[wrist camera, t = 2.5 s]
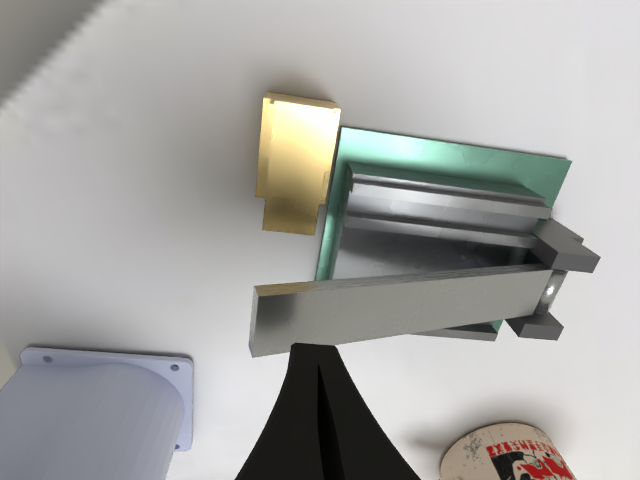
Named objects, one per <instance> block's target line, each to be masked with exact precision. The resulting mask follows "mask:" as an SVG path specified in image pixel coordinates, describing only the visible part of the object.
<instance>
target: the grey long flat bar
mask: <svg viewBox="0 0 640 480" xmlns="http://www.w3.org/2000/svg"><path fill="white" fill-rule="evenodd" d="M567 273H568V270H560V269H551V268H550V267H549V266H547V265H546V264H545V263H544V264H543V263H536V264H524V265H511V266H499V267H486V268H474V269H461V270H448V271H436V272H423V273H411V274H398V275H386V276H373V277H361V278H348V279H335V280H323V281H310V282H298V283H285V284H273V285H260V286H254V292H253V303H252V314H251V325H250V336H249V349H250V352H251V355H252V358H254V357H260V356H267V355H273V354H280V353H286V352H290V350H291V345H292V344H294V343H308V344H321V345H338V344H345V343H352V342H358V341H365V340H371V339H378V338H384V337H391V336H397V335H404V334H410V333H417V332H423V331H430V330H436V329H443V328H449V327H456V326H462V325H469V324H476V323H482V322H489V321H495V320H502V319H508V318H515V317H521V316H528V315H532V314H533V313H536V314H539V315H547V313H548V311H549V309H550V307H551V305H552V303H553V301H554V299H555V297H556V295H557V293H558V291H559V289H560V287H561V285H562V283H563V281H564V279H565V277H566V275H567Z"/></svg>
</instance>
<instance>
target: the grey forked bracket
mask: <svg viewBox="0 0 640 480" xmlns="http://www.w3.org/2000/svg"><path fill="white" fill-rule="evenodd" d="M532 234H533V235H534V236H536V237H537V238H538V239H539V241H538V243H537V245H536V248H535V249H533V248H527V249H528V252H527V254H526V256H525V259H524V261H523V263H522V265H524V264H536V263H543V264H544V263H545V264H546V265H547V266H549V267H550V268H551V269H560V270H568V271H578V272H588V273H593V271H594V269H595V267H596V265H597V263H598V261H599V260H600V258H601V257H600V256H598V255H597V254H595V253H594V252H592V251H591V250H589V249H588V248H586V247H585V246H583V245H582V242H583V240H584V239H583V238H582V237H580V236H579V235H577V234H576V233H574V232H573V231H571V230H569V229H568V228H566V227H565V226H563V225H562V224H560V223H558V222H557V221H555V220H554V219H547V220H546V221H543V220H538V221H537V223H536V225H535V228H534V230H533V232H532ZM505 320H506V322H507V323H508V324H509V326H510V327H511V328H512V329H513V331H514V332H515V333H516V334H517V336H518V337H522V338H534V339H546V340H558V338H559V336H560V334H561V332H562V330H563V328H564V327H563V326H562V325H561V324H560V323H559V322H558V321H557V320H556V319H555V318H554V317H553V316H552V315H551V314H550V313H549V312H548V313H547V315H539V314H536V313H533V314H532V315H528V316H521V317H515V318H508V319H505Z"/></svg>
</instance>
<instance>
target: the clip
mask: <svg viewBox="0 0 640 480" xmlns="http://www.w3.org/2000/svg"><path fill="white" fill-rule="evenodd" d="M340 111H341V109H340V108H339V107H338V106H337V105H336V103H335V102H331V101H325V100H318V99H312V98H305V97H299V96H292V95H286V94H279V93H273V92H267V94H266V95H265V97H264V99H263V111H262V123H261V135H260V147H259V159H258V171H257V183H256V195H255V197H263V198H265V208H264V218H263V229H262V230H268V231H277V232H286V233H295V234H304V235H313V236H314V234H315V228H316V222H317V215H318V209H319V204H321V205H325V201H326V195H327V189H328V183H329V177H330V171H331V165H332V159H333V153H334V147H335V141H336V135H337V129H338V123H339V117H340Z"/></svg>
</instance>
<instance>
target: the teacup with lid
mask: <svg viewBox="0 0 640 480" xmlns="http://www.w3.org/2000/svg"><path fill="white" fill-rule="evenodd" d="M440 475H441V479H439V480H577V479H576V478H575V476H574V475H573V473H572V472H571V470H570V469H569V467H568V466H567V464H566V463H565V461H564V460H563V458H562V457H561V455H560V454H559V452H558V451H557V449H556V448H555V446H554V445H553V443H552V442H551V440H550V439H549V438H548V437H547V435H545V434H544V433H543V432H541V431H540V430H538V429H536V428H534V427H531V426H528V425H524V424H518V423H503V424H496V425H491V426H487V427H484V428H481V429H478V430H476V431H473V432H471V433H469V434H468V435H466V436H464V437H463V438H461V439H460V440H459V441H457V442H456V443H455V444H454V445H453V446H452V447H451V448H450V449H449V450H448V452H447V453H446V454H445V456H444V458H443V460H442V463H441V468H440Z"/></svg>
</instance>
